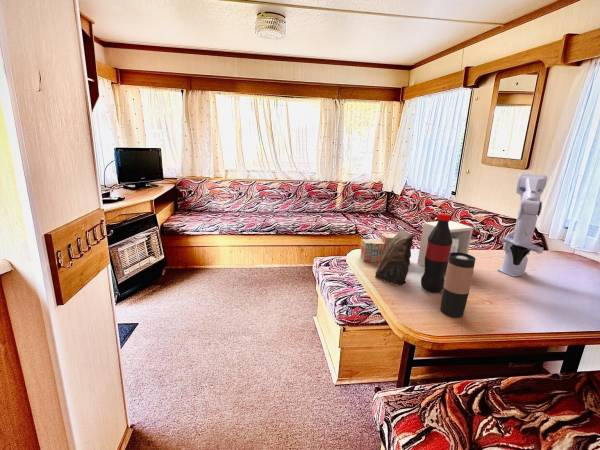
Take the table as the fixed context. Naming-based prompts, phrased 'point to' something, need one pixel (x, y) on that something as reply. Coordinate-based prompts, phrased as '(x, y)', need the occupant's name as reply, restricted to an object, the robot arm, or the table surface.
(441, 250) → the cola bottle
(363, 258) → the stack of blocks
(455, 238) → the metal cup
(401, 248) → the owl
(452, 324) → the table surface
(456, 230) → the tall white box
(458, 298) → the travel mug
